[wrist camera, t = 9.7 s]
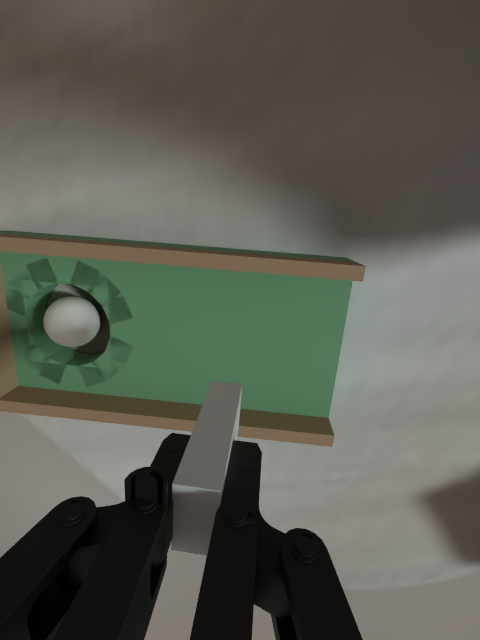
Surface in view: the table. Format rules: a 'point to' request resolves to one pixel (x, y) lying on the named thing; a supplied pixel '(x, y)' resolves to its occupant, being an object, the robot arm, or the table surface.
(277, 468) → the table surface
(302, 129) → the table surface
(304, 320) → the green
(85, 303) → the ball
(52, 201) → the table surface
